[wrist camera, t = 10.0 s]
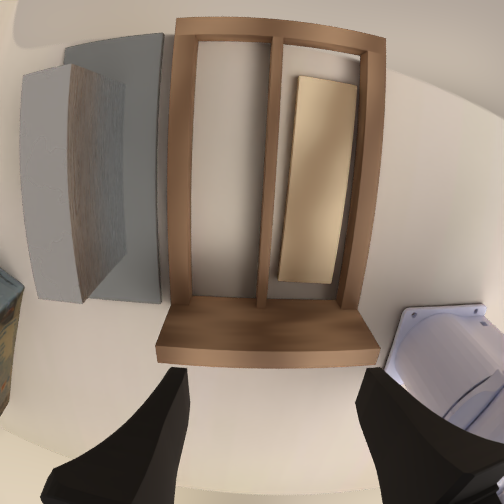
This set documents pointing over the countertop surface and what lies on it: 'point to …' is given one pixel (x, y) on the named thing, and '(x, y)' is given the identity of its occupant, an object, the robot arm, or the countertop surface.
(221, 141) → the countertop surface
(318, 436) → the countertop surface
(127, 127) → the mat
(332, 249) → the offcut top
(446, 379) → the robot arm
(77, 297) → the shiny grey metal block
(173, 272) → the rack
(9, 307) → the beverage carton
